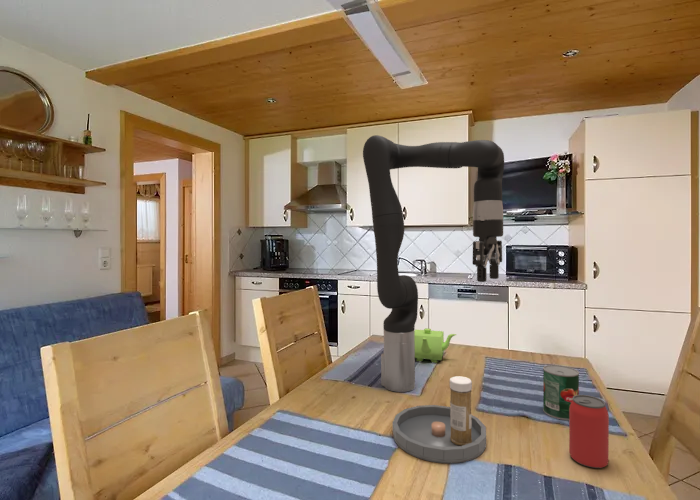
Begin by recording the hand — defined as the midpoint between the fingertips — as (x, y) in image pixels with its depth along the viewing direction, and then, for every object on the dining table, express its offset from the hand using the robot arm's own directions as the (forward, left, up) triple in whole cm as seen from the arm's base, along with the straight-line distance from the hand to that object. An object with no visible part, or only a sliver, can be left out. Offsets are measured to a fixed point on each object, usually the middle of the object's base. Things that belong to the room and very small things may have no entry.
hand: (488, 280), depth 101 cm
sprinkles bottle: (+3, -24, -32) cm, 40 cm away
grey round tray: (-2, -24, -33) cm, 41 cm away
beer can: (+25, -13, -33) cm, 44 cm away
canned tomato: (+16, +6, -33) cm, 37 cm away
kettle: (-31, +23, -33) cm, 51 cm away
